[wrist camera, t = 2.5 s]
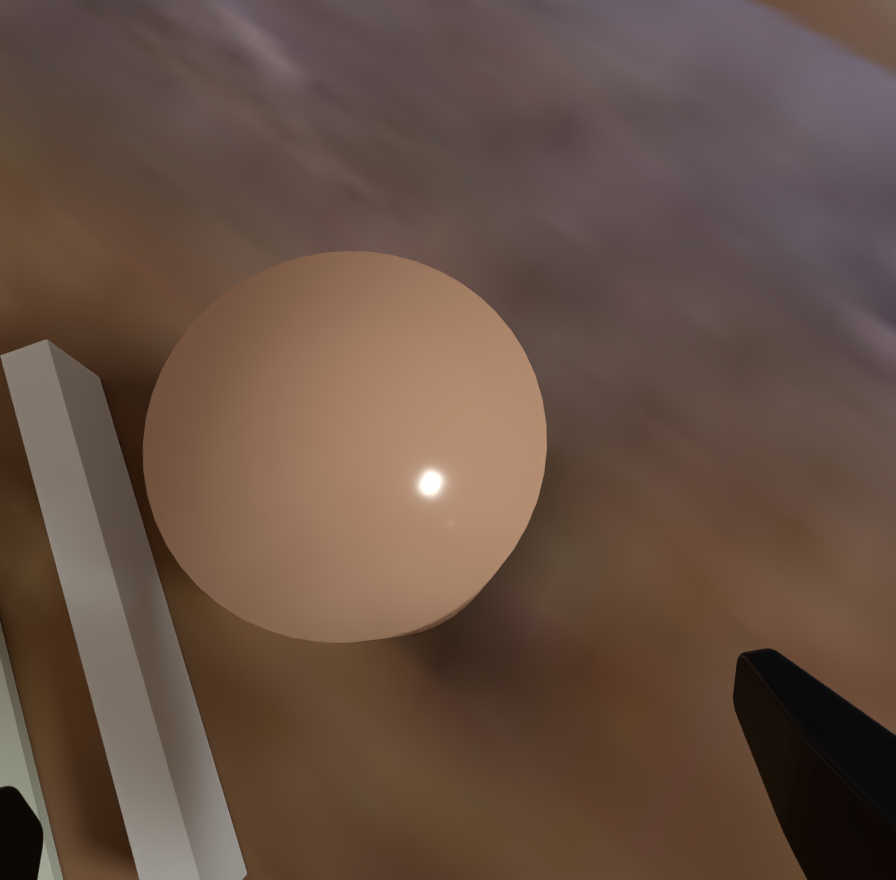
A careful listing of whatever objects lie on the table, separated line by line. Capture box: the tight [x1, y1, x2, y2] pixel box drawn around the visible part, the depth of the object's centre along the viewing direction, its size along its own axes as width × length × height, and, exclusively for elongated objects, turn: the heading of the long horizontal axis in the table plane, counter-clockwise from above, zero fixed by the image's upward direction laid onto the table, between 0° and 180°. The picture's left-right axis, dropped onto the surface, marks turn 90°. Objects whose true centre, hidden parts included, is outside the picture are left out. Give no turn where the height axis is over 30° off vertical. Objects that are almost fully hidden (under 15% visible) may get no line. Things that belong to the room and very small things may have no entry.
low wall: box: [0, 339, 247, 880], centre depth 19 cm, size 14×1×3 cm, turn 21°
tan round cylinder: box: [143, 251, 547, 643], centre depth 16 cm, size 6×6×11 cm
